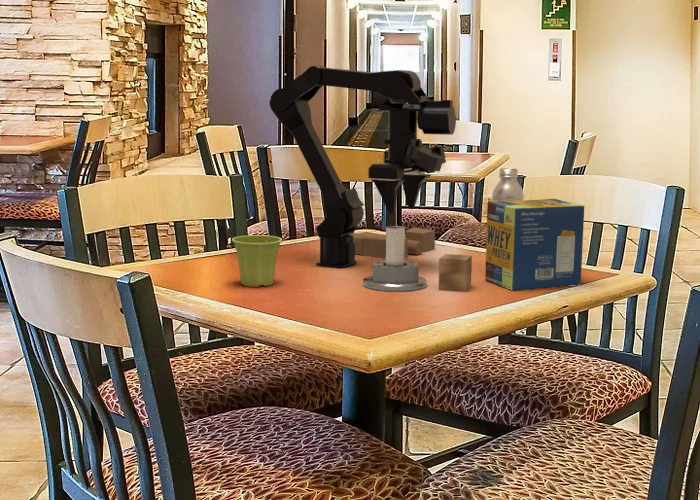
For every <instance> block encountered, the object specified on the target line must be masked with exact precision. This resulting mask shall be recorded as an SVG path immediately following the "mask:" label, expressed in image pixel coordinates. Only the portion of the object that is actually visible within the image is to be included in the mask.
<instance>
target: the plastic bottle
mask: <svg viewBox="0 0 700 500" xmlns="http://www.w3.org/2000/svg"><path fill="white" fill-rule="evenodd" d="M518 170H519V169H517V168H511V167H510V168H508V167H507V168H505V167H503V168H499V175H498V177H499V179H500V180H499V182H498V183H497V184H496V185H495V187H494V189H493V192H492V193H491V194H492V195H491V196H492V202H499V201H521V200H525V199H524V198H525V197H524V196H525V194H524V189H523V188H522V187H521V184H520V183H519V182H518V180H517V179H519V175H518Z"/></svg>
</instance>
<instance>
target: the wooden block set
mask: <svg viewBox="0 0 700 500" xmlns="http://www.w3.org/2000/svg"><path fill="white" fill-rule="evenodd" d="M349 235H353V243H355V256H356V255H357V256H363V257H371V258H379V259H386V235H381V234H364V233H355V232H354V233H353V234H349ZM435 249H436V230H433V229H426V228H421V227H420V228H419V227H414V226H413V227H411V228H409V229H407V230H405V245H404V259H405V258H408V255H412V256H420V255H422V253H426V252H429V251H434V250H435Z"/></svg>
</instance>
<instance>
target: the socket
mask: <svg viewBox="0 0 700 500" xmlns="http://www.w3.org/2000/svg"><path fill="white" fill-rule="evenodd" d="M419 273H420V272H419V264H418V263H417V261H410V260H409V261H408V260H404V266H398V267H394V266H386V260H380V261H378V260H377V261H372V262H371V275H368V276H366V277H363V279H362V286H363V287H364V288H366V289H369V290H373V291H378V292H379V291H380V292H393V293H394V292H395V293H396V292H398V293H401V292H404V293H405V292H413V291H419V290H422V289H423V290H424V289H425V288H427V284H428V280H427V278H425V277H422V276H419Z"/></svg>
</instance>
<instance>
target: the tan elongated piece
mask: <svg viewBox="0 0 700 500" xmlns="http://www.w3.org/2000/svg"><path fill="white" fill-rule="evenodd" d="M405 229H406V228H405V226H399V225H388V226H385V236H386V258H385V261H386V266H394V267H398V266H404V261H405V258H404V245H405V231H406V230H405Z"/></svg>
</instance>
